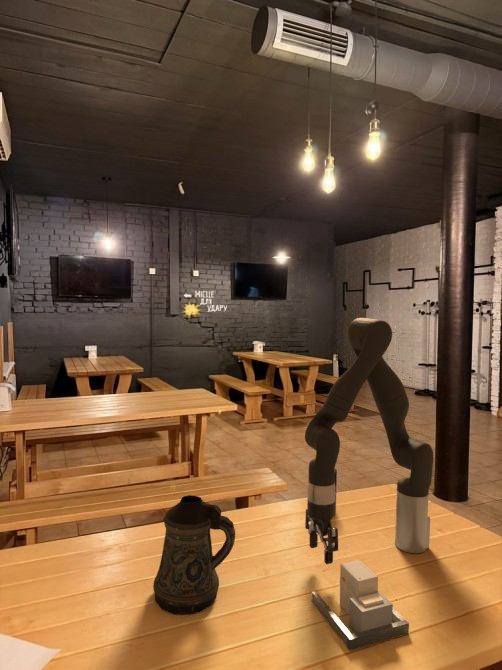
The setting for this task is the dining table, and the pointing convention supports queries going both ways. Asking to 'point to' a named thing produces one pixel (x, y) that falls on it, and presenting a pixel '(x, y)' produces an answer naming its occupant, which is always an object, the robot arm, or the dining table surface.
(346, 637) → the rail
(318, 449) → the robot arm
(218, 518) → the beer stein
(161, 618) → the dining table surface
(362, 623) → the block
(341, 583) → the small box
